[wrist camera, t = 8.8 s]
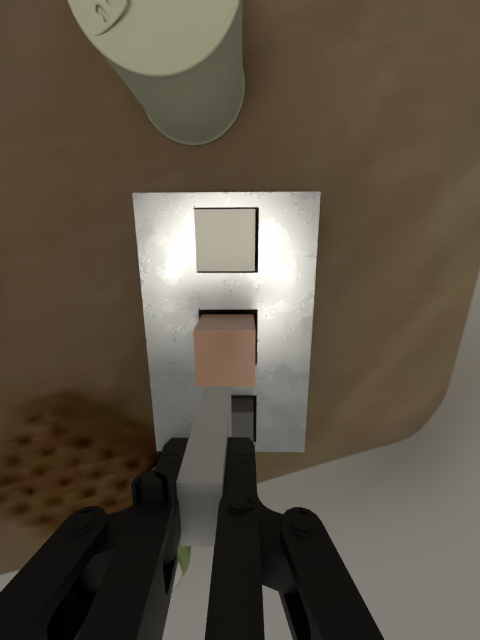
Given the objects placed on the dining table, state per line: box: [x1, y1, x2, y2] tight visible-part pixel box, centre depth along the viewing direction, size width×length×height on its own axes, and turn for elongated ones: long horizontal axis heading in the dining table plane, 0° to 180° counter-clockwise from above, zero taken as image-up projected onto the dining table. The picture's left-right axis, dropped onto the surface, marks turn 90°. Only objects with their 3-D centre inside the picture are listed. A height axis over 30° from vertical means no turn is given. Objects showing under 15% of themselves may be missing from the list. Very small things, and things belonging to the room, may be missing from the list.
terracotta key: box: [193, 314, 256, 387], centre depth 25 cm, size 5×5×5 cm
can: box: [68, 0, 245, 145], centre depth 19 cm, size 9×9×12 cm
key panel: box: [132, 192, 321, 452], centre depth 29 cm, size 16×26×3 cm, turn 0°
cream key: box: [194, 209, 255, 271], centre depth 26 cm, size 5×5×5 cm
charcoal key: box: [231, 395, 254, 442], centre depth 30 cm, size 5×5×5 cm
